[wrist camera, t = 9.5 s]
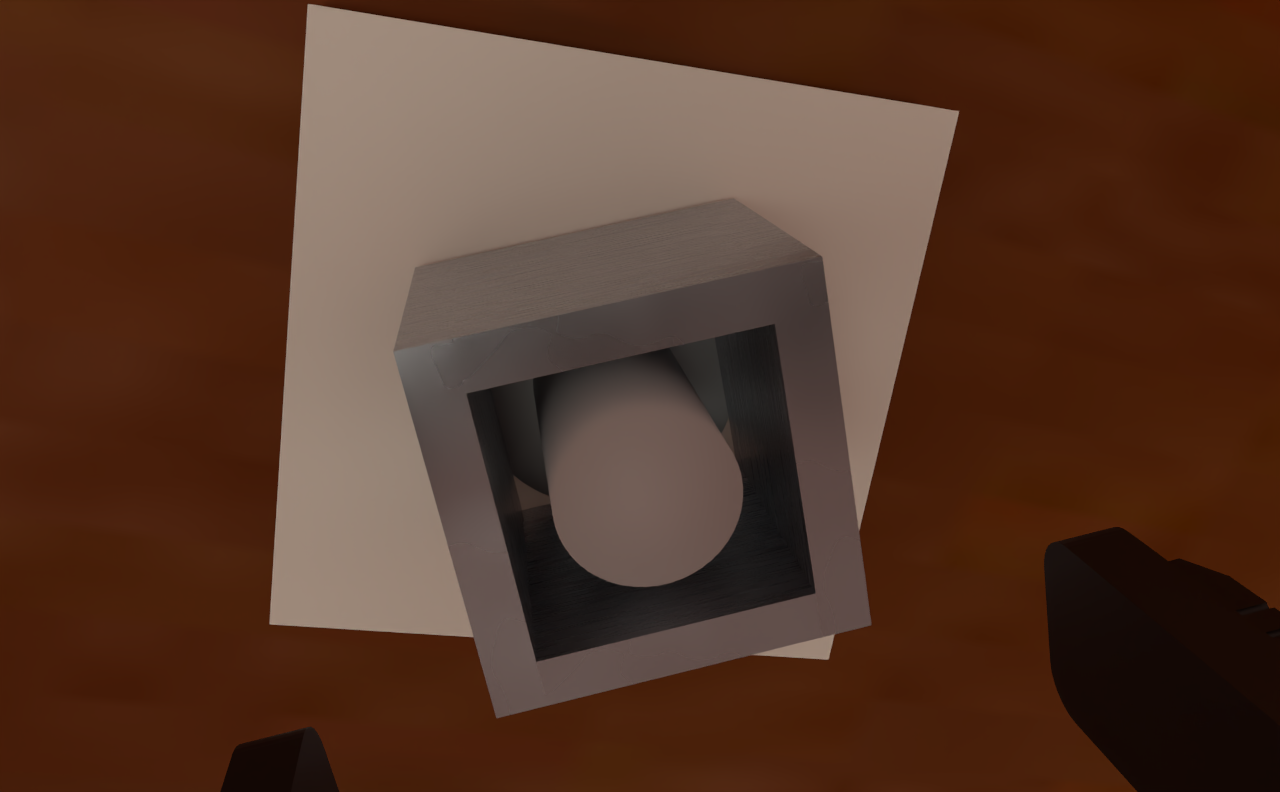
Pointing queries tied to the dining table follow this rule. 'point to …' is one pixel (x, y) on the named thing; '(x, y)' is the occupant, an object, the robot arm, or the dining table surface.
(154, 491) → the dining table surface
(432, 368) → the collar
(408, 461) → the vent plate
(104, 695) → the dining table surface
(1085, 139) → the dining table surface
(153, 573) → the dining table surface
